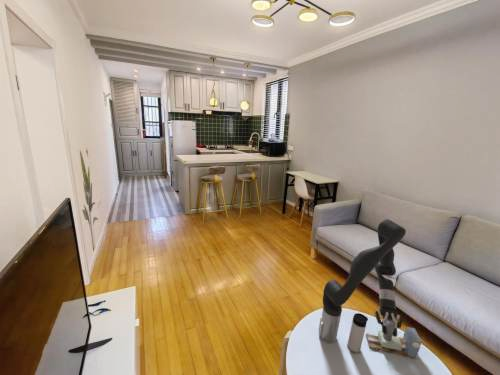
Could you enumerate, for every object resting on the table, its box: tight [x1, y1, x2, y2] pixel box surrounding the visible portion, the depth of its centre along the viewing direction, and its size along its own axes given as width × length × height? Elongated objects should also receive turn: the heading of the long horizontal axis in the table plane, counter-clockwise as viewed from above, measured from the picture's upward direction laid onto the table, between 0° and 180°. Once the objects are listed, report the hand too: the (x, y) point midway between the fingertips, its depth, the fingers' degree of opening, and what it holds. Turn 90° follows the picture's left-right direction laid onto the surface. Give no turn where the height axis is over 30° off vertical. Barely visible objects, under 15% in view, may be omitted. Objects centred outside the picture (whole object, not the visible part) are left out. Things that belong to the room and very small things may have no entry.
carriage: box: [377, 319, 402, 351], centre depth 123 cm, size 9×7×13 cm
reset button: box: [398, 336, 406, 345], centre depth 122 cm, size 3×4×4 cm
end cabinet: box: [402, 326, 423, 357], centre depth 121 cm, size 4×8×10 cm, turn 167°
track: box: [365, 333, 418, 360], centre depth 125 cm, size 22×8×2 cm, turn 77°
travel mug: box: [346, 312, 369, 354], centre depth 120 cm, size 6×7×20 cm
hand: (389, 335), depth 121 cm, fingers closed on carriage, 4 cm apart
